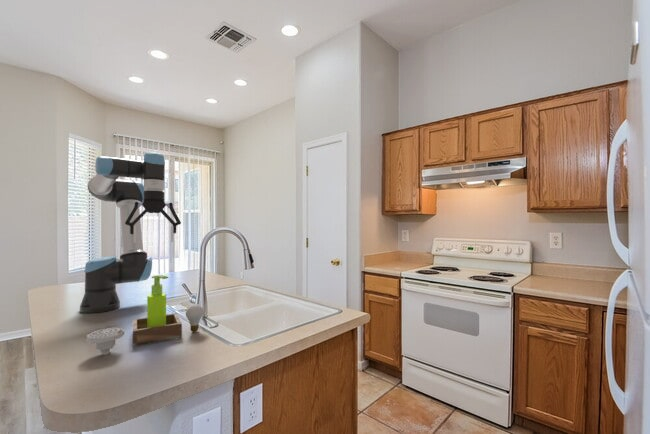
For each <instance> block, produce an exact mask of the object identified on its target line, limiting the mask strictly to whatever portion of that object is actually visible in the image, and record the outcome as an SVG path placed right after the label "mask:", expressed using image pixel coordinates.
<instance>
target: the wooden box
mask: <svg viewBox="0 0 650 434" xmlns="http://www.w3.org/2000/svg"><path fill="white" fill-rule="evenodd" d="M182 324H183V323H182V320H181V319H180V317H179V314H178V313H177V312H175V313H166V325H162V326H156V327H150V328H147V316H146V317H139V318H133V319H132V347H133V348H134V347H139V346H145V345H151V344H155V343H156V344H157V343H161V342H167V341H172V340H179V339H183V338H182V337H183V334H182V333H183V332H182V331H183V329H182V327H183V326H182Z"/></svg>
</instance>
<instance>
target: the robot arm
mask: <svg viewBox="0 0 650 434" xmlns="http://www.w3.org/2000/svg"><path fill="white" fill-rule="evenodd" d="M165 164H166V163H165V156H164V154H162V153H159V152H145V153H144V154H143V160H137V159H136V160H135V159H127V158H121V157H112V156H111V157H110V156H97V157H96V159H95V165H94V167H95V168H94V169H95V176H93V177H91V178H90V179H89V180H88V183H87V190H88V192H89V193H90V195H92V196H93V197H94V198H96V199H98V200H100V201H103V202H108V203H109V202H114V203H115V206H116V207H117V208H119V211H120V215H119V216H120V227H121V241H122V253H121V254H120V255H119V259H118V258H117V257H116V256H114V255H113V256H112V255H111V256H104V257H98V258H94V259H89V260H88V261H86V262H85V267H84V295H83V297H82V300H81V302H80V305H79V312H80V313H82V314H96V313H103V312H108V311H113V310H115V309H118V308H120V306H121V300H120V297H119V295H118V293H117V288H116V287H117V284H118V285H120V284H127V283H128V284H129V283H136V282H137V283H139V282H143V281H147V280H148V279H149V278H150V277H151V274H152V271H153V270H152V269H153V258H152V257H151V256H148V252H147V251H145V250H144V246H143V245H144V244H143V233H142V224H141V223H142V222H141V218H143V217H144V216H145V215H146V214H147V213H148V214H153V213H154V214H160V213H161V214H162V215H163V217H165V219H166V220H168V222H169V223H171V226H170V242H172V243H173V242H174V234H177V226H179V225H181V224H182V221H181V220H180V217H178V214H177V213H176V210H175V209H174V204H173V203H172V202H168V203H167V202H166V201H165V192H164V191H165ZM120 177H121V178H122V177H123V178H133V179H130V180H129V179H128V180H127V179H119V178H120ZM134 179H141V180H143V182H141V181H138V180H134ZM140 207H143V208H144V210H143V211H142V212H141V211H140ZM164 208H168V209H169V211H170V213H171V215H172V216H173V218H174V220H175V221H174V220H173V219H172V217H171V216H169V215H168V213H167V212H166V211H165V210H164ZM140 212H141V213H140Z"/></svg>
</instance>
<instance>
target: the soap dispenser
mask: <svg viewBox="0 0 650 434" xmlns="http://www.w3.org/2000/svg"><path fill="white" fill-rule="evenodd" d="M151 279H154V281H153V283H154V284H152V285H151V294H149V295H147V301H146V303H147V307H146V310H147V313H146V315H147V316H146V317H147V328H150V327H156V326H162V325H166V315H167V294H166V293H164V292H163V284H161V281H160V279H162V280H166V279H169V276H167V275H153V276H151Z"/></svg>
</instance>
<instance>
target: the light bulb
mask: <svg viewBox="0 0 650 434" xmlns="http://www.w3.org/2000/svg"><path fill="white" fill-rule="evenodd" d="M203 315H204V309H203V307H202V305H200V304H198V303H193V304H191V305H189V306H188V307H187V309H186V311H185V316H186V317H185V318H187V320H188V322H189V325H190V331H191V332H193V333H196V332H198V330H199V327H200V326H199V325H200V321H201V320H202V317H203Z"/></svg>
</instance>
